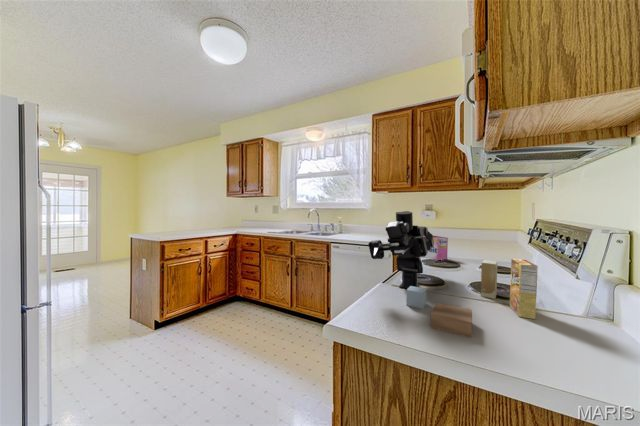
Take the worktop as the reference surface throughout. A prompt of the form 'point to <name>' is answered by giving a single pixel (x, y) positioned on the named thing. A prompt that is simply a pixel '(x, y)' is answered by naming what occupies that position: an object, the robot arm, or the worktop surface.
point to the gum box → (438, 248)
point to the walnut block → (452, 319)
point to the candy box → (523, 288)
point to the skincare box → (489, 279)
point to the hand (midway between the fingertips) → (387, 256)
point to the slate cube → (416, 297)
